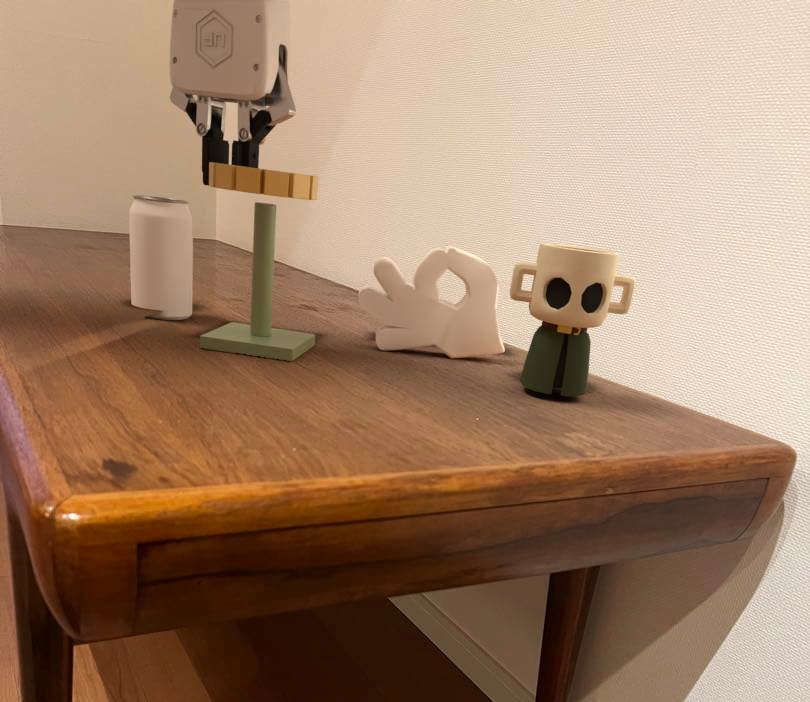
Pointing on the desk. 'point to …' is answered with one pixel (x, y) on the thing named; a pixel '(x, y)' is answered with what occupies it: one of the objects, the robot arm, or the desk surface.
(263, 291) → the post
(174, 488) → the desk surface
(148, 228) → the can
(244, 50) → the robot arm
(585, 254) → the character mug
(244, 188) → the ring
